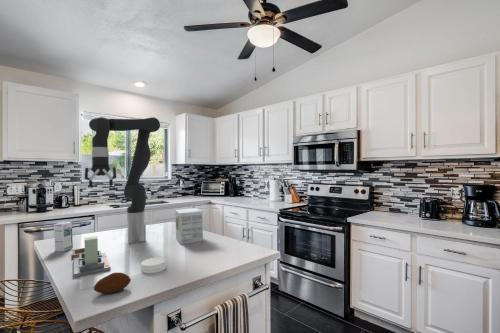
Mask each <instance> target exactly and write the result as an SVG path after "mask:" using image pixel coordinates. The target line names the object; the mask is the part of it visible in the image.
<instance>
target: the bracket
mask: <svg viewBox="0 0 500 333" xmlns="http://www.w3.org/2000/svg"><path fill="white" fill-rule="evenodd" d="M81 253H85V247H82V248H76V249H72V260H74V258H79V254H81Z"/></svg>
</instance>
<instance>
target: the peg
mask: <svg viewBox="0 0 500 333" xmlns="http://www.w3.org/2000/svg"><path fill="white" fill-rule="evenodd" d="M83 239H84V248H85V252H84V253H85V265H89V264H95V263H98V251H99V249H98V248H99V246H98V244H99V243H98V241H99V240H98V236H89V237H84V238H83Z"/></svg>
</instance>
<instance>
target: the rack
mask: <svg viewBox="0 0 500 333" xmlns="http://www.w3.org/2000/svg"><path fill="white" fill-rule="evenodd" d="M78 254H79V253H78ZM110 264H111V263H110V261H109V259H108V257H107V254H106V252H103V253H102V251H101V250H99V249H98V263H95V264H89V265H85V252H83V253H81V254H79V258H74V259H73V278H74V277H76V278H79V277H86V276H90V275H93V274H94V275H95V274H100V273H103V272H109V271H112V270H111V269H112V268H111V267H112V266H111V265H110Z"/></svg>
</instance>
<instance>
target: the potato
mask: <svg viewBox="0 0 500 333" xmlns="http://www.w3.org/2000/svg"><path fill="white" fill-rule="evenodd" d="M131 281H132V279H131V277H130V276H129V275H128V274H126V273H124V272H112V273H111V274H110V273H109V275H107V276H104V277H103V278H101V279H99V280H98V281H97V282H96V283H95V285H94V286H93V290H94V291H95V292H97V293H100V294H112V293H118V292H121V291H123V290H124V289H125V288H127V287H128V285H129V284H130V283H131Z"/></svg>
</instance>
